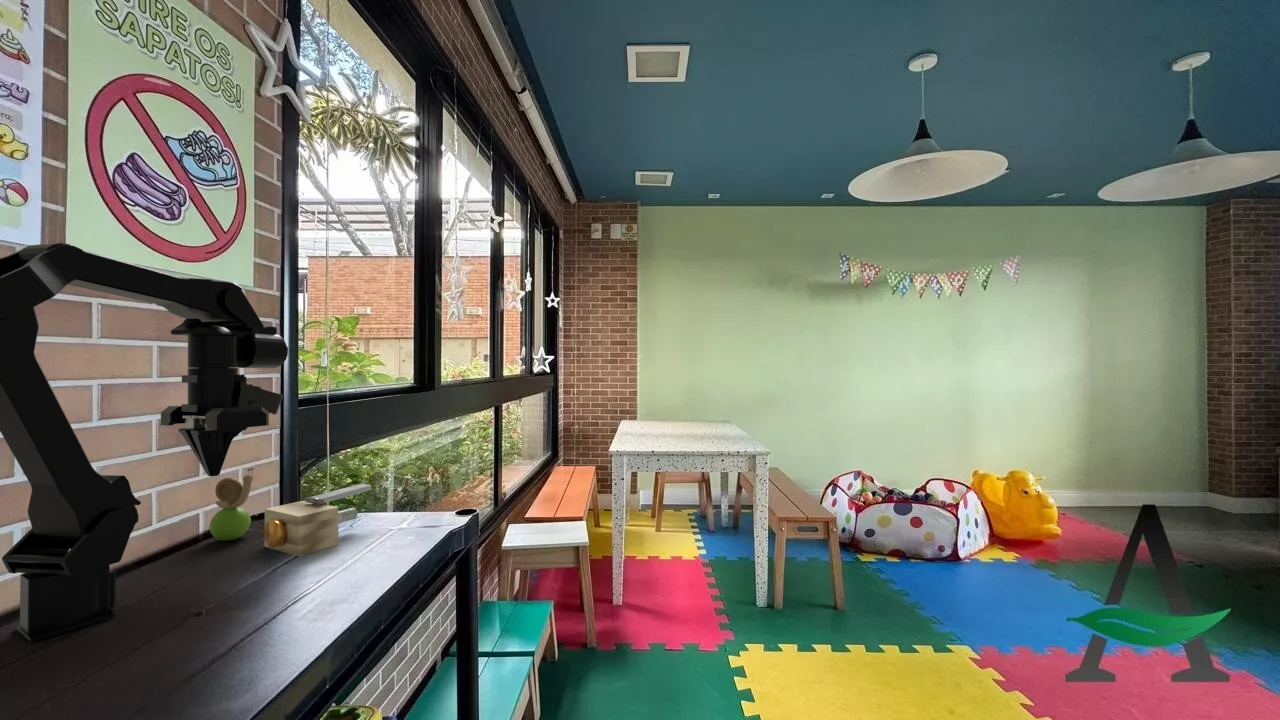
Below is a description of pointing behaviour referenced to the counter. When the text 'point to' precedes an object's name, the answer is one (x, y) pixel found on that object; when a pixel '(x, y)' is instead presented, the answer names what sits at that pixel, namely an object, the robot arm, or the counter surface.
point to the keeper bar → (338, 494)
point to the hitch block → (305, 526)
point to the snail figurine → (231, 508)
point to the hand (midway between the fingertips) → (213, 475)
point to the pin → (277, 529)
